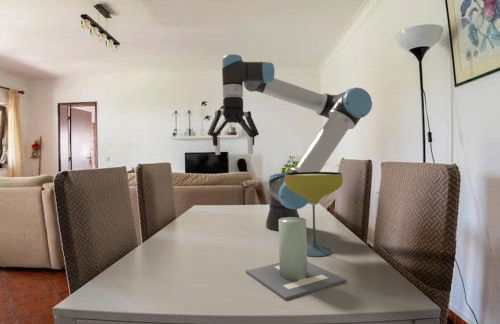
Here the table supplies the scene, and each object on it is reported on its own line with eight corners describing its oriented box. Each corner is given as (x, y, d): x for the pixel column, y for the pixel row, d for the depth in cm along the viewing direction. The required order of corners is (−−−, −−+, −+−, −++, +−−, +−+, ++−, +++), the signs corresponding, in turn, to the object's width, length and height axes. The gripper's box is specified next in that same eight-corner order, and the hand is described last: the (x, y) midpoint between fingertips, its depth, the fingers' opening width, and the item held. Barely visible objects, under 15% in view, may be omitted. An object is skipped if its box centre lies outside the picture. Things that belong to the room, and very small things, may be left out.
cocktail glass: (344, 245, 103) (343, 171, 103) (342, 263, 86) (341, 175, 86) (292, 241, 109) (290, 171, 109) (280, 258, 92) (278, 175, 92)
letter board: (299, 260, 90) (299, 258, 90) (345, 281, 74) (345, 279, 74) (245, 272, 81) (245, 270, 81) (285, 300, 65) (285, 297, 65)
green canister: (296, 267, 83) (294, 215, 82) (313, 276, 76) (312, 220, 76) (274, 272, 79) (273, 219, 79) (290, 282, 73) (289, 224, 73)
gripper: (205, 93, 105) (206, 155, 106) (266, 98, 117) (267, 153, 117) (197, 97, 112) (199, 155, 112) (256, 101, 124) (258, 153, 124)
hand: (234, 154), depth 115 cm, fingers open, 13 cm apart
